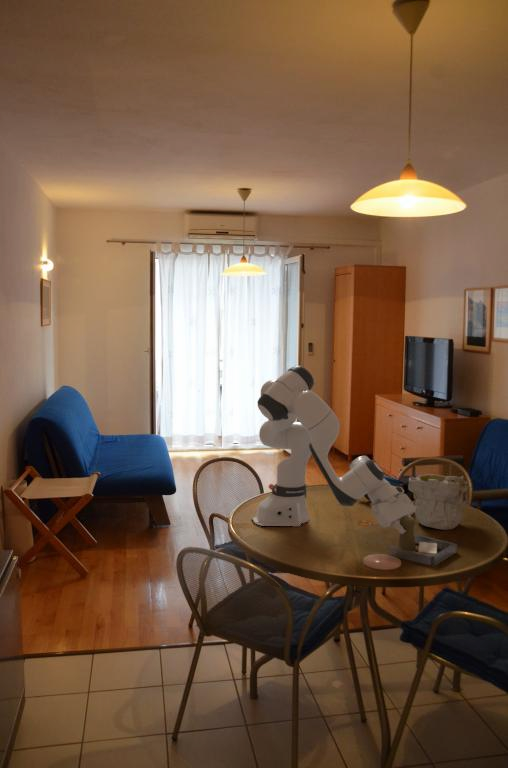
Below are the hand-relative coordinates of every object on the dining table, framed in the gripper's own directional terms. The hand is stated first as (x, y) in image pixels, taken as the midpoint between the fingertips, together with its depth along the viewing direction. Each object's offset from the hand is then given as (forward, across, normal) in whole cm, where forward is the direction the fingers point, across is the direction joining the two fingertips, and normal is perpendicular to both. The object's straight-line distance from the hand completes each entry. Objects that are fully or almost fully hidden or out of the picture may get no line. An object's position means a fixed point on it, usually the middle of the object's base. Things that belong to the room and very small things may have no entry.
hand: (408, 530), depth 223 cm
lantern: (-20, +44, +30) cm, 57 cm away
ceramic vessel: (+2, +35, +8) cm, 36 cm away
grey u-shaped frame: (+9, 0, +1) cm, 9 cm away
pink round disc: (+4, -17, +5) cm, 18 cm away
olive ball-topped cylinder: (+4, 0, +5) cm, 7 cm away
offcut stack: (+10, 0, 0) cm, 10 cm away
